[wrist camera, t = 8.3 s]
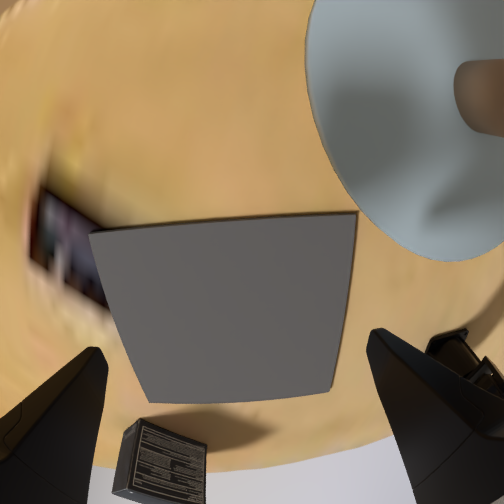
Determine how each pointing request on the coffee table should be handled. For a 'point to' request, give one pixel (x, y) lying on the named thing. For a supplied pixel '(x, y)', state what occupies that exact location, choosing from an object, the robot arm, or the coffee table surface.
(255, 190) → the coffee table surface
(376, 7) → the lid
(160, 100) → the coffee table surface
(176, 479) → the small box
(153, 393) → the mat
